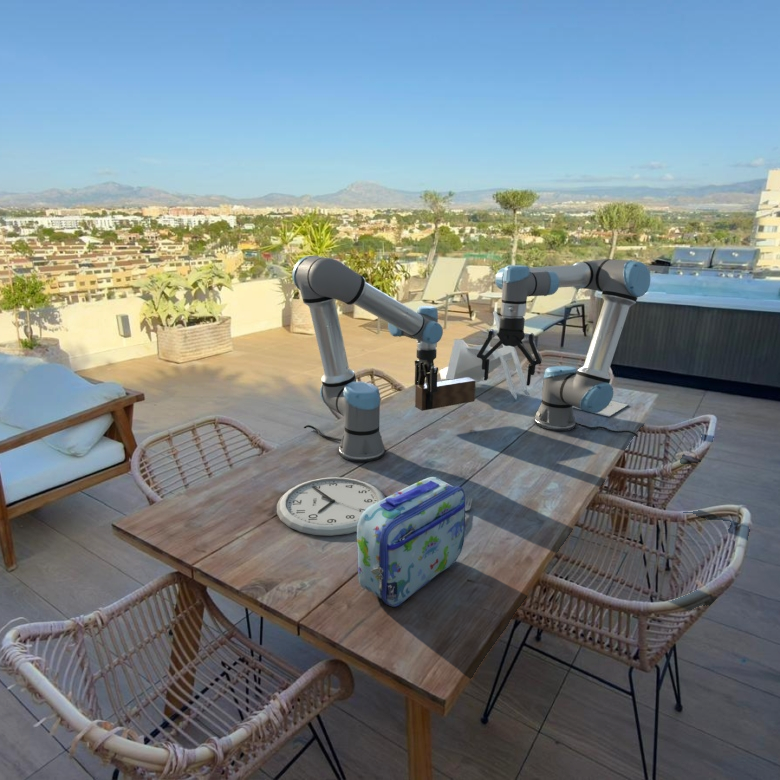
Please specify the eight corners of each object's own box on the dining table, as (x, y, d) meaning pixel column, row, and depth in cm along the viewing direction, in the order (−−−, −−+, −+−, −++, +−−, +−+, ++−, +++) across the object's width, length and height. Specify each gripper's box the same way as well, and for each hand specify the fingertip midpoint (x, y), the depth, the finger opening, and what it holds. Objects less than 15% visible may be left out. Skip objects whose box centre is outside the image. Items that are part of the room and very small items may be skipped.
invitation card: (608, 416, 214) (573, 407, 224) (608, 416, 214) (573, 408, 224) (628, 404, 229) (594, 396, 238) (628, 405, 229) (594, 397, 238)
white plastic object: (461, 429, 252) (437, 405, 227) (444, 352, 274) (420, 323, 250) (535, 404, 240) (518, 377, 215) (510, 326, 262) (492, 293, 237)
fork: (449, 531, 131) (450, 524, 131) (463, 501, 146) (463, 495, 145) (459, 533, 130) (460, 526, 130) (472, 503, 145) (473, 496, 144)
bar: (467, 397, 215) (468, 377, 213) (474, 401, 211) (475, 380, 208) (415, 406, 205) (415, 385, 202) (421, 410, 200) (422, 388, 198)
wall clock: (392, 527, 129) (268, 531, 127) (391, 533, 130) (269, 537, 127) (383, 473, 158) (282, 475, 155) (383, 478, 158) (282, 480, 156)
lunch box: (386, 620, 101) (388, 525, 95) (350, 593, 108) (349, 503, 102) (468, 563, 119) (474, 480, 112) (432, 543, 126) (436, 464, 120)
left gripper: (406, 344, 202) (405, 400, 210) (430, 354, 187) (429, 415, 194) (422, 342, 206) (421, 398, 213) (448, 352, 190) (446, 411, 198)
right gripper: (470, 315, 164) (466, 380, 170) (553, 321, 155) (545, 389, 161) (475, 311, 170) (471, 374, 177) (555, 317, 161) (547, 383, 168)
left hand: (425, 406), depth 204 cm, fingers closed on bar, 5 cm apart
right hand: (506, 382), depth 169 cm, fingers open, 13 cm apart
